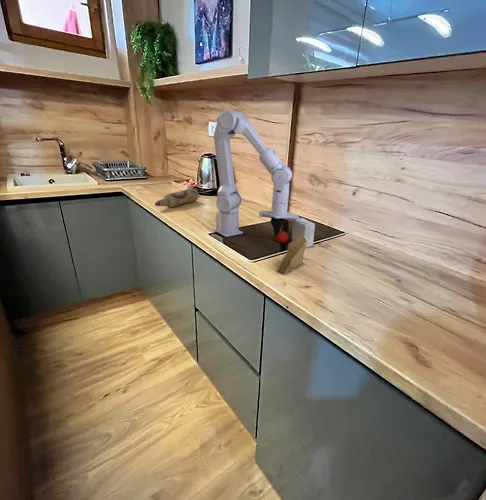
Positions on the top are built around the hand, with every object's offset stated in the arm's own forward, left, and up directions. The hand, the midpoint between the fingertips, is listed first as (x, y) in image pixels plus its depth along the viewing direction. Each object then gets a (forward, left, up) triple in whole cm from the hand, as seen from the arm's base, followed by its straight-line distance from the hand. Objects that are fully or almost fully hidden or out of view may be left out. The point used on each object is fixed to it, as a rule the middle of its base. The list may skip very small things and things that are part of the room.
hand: (277, 237), depth 114 cm
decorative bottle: (-66, -12, -2) cm, 67 cm away
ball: (+1, +1, 0) cm, 2 cm away
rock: (+19, -11, -2) cm, 22 cm away
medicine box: (+7, +6, -2) cm, 10 cm away
